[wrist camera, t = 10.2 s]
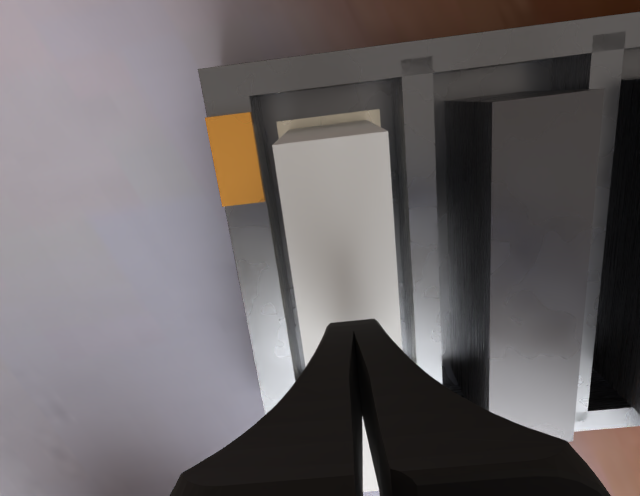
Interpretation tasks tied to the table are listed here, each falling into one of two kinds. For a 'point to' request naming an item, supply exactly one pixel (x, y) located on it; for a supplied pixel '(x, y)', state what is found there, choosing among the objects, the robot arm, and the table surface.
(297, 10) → the table surface
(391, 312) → the white rectangular block
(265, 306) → the rack
